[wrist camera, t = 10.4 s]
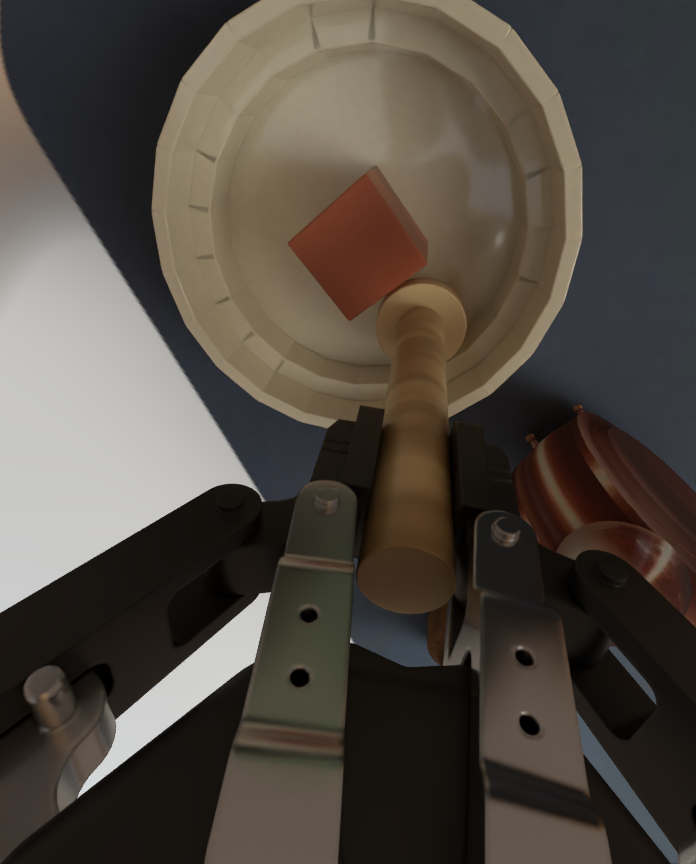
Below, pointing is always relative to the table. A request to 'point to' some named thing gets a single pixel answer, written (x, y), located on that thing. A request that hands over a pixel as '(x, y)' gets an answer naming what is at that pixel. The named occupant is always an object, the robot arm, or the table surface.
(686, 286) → the table surface
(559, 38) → the table surface
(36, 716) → the robot arm
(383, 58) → the bowl
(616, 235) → the table surface
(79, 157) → the table surface
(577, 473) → the alarm clock
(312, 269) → the block
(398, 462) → the stick
